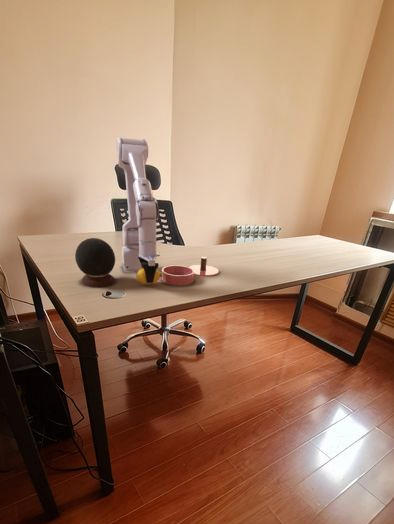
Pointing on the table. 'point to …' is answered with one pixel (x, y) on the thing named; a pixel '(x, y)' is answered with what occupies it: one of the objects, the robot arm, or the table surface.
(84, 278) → the dark ball on stand
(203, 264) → the lid
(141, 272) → the yellow rounded oblong piece
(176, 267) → the pot
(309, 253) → the table surface
